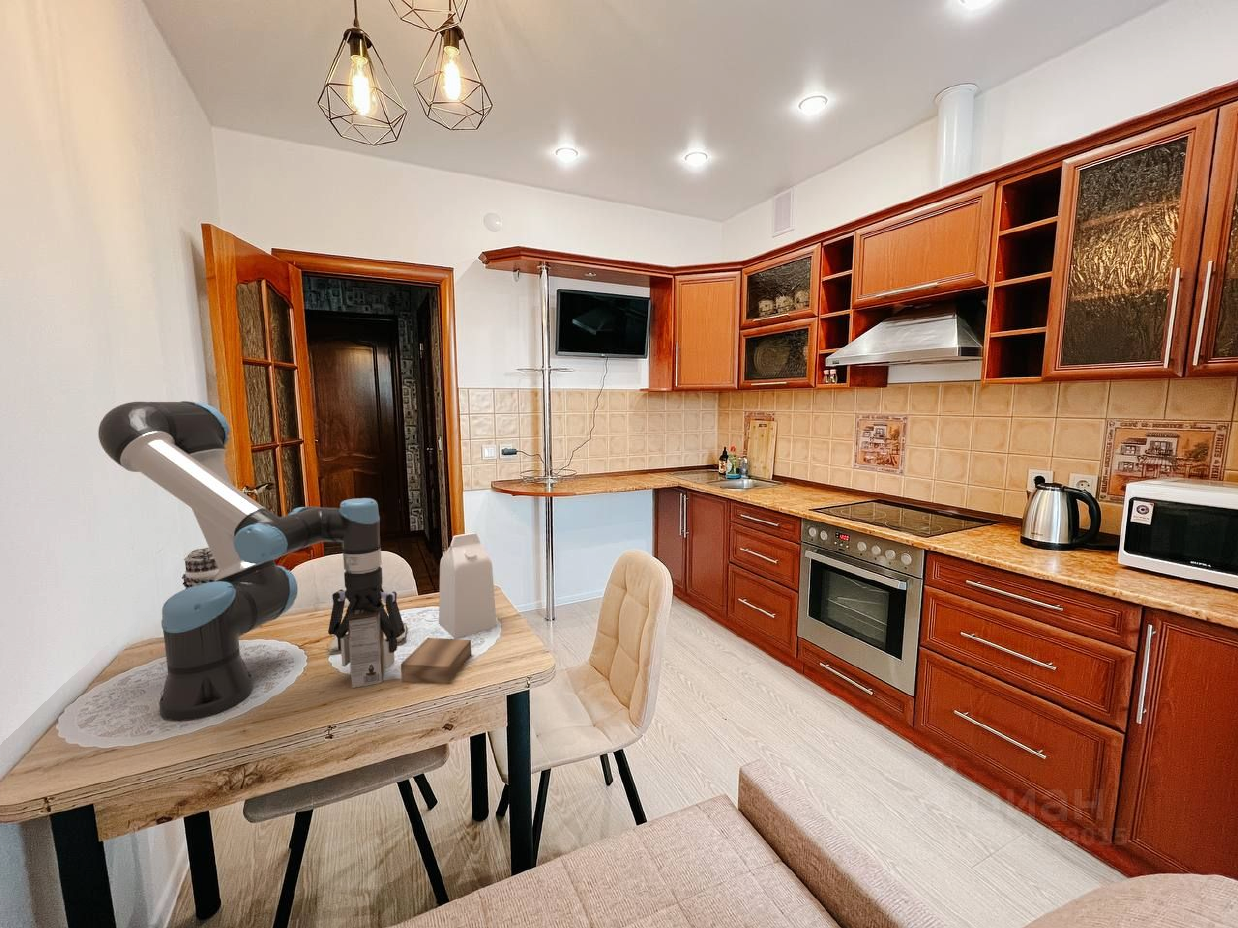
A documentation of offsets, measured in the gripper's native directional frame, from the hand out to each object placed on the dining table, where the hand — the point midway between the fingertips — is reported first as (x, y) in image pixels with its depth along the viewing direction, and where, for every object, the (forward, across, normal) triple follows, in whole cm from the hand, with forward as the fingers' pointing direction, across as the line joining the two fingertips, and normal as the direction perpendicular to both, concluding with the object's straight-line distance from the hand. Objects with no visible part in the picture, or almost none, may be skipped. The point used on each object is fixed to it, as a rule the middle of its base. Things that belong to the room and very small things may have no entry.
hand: (368, 664), depth 115 cm
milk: (+3, +12, +28) cm, 31 cm away
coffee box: (+3, 0, 0) cm, 3 cm away
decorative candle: (+3, -48, +10) cm, 49 cm away
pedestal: (+3, +14, +5) cm, 15 cm away
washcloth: (+4, -10, +17) cm, 20 cm away
